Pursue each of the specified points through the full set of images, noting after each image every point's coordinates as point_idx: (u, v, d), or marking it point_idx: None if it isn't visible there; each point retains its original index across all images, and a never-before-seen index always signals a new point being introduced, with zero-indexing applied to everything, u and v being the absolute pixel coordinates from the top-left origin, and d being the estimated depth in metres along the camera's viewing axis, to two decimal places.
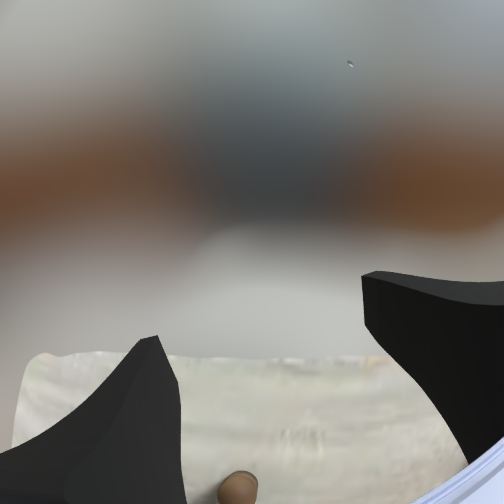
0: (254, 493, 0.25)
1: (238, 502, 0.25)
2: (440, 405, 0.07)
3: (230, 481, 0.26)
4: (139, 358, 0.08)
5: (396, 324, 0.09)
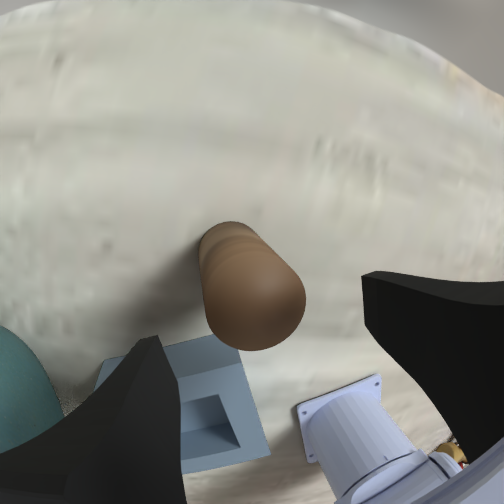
0: (302, 297, 0.12)
1: (259, 324, 0.12)
2: (439, 405, 0.07)
3: (243, 263, 0.12)
4: (139, 358, 0.08)
5: (395, 324, 0.09)
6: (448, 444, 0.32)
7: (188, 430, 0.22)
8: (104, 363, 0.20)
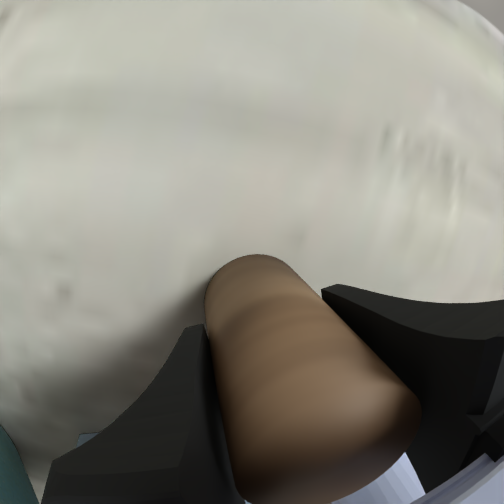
0: (413, 428, 0.05)
1: (334, 479, 0.05)
2: None
3: (323, 404, 0.04)
4: (193, 345, 0.08)
5: None
6: None
7: None
8: (80, 440, 0.12)
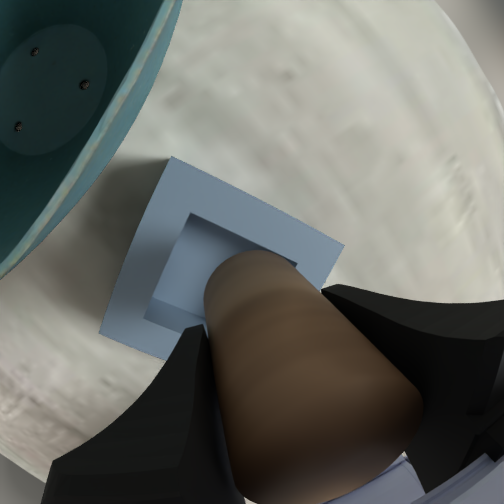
0: (414, 426, 0.05)
1: (333, 476, 0.05)
2: None
3: (330, 394, 0.04)
4: (193, 345, 0.08)
5: None
6: None
7: (180, 307, 0.18)
8: None
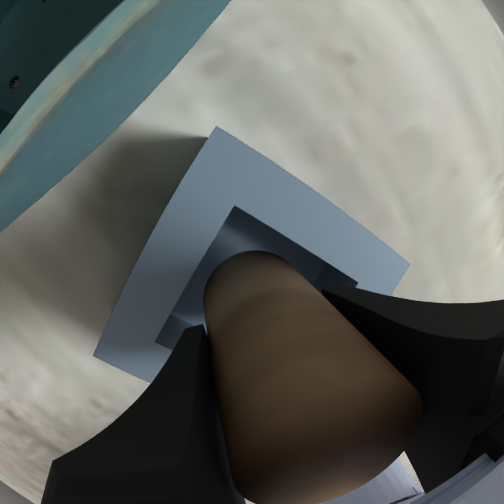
0: (413, 426, 0.05)
1: (332, 477, 0.05)
2: None
3: (329, 394, 0.04)
4: (193, 345, 0.08)
5: None
6: None
7: None
8: None
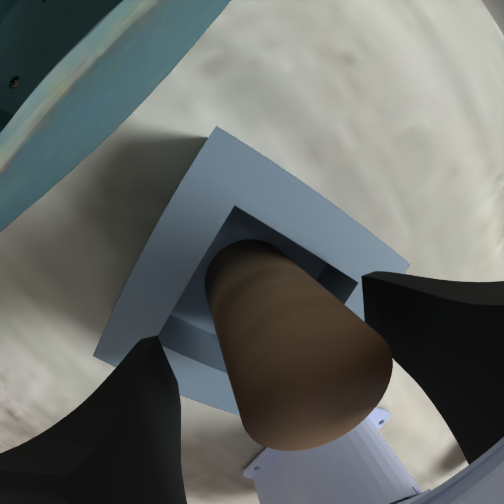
0: (386, 374, 0.07)
1: (322, 418, 0.07)
2: (440, 405, 0.07)
3: (311, 337, 0.06)
4: (139, 358, 0.08)
5: (395, 324, 0.09)
6: None
7: (199, 325, 0.14)
8: None
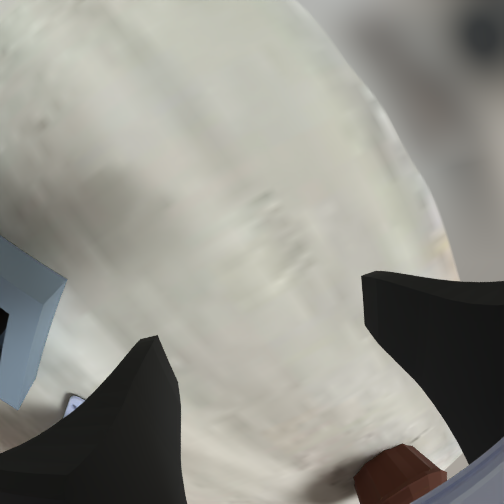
0: None
1: None
2: (440, 405, 0.07)
3: None
4: (139, 358, 0.08)
5: (395, 324, 0.09)
6: None
7: None
8: None
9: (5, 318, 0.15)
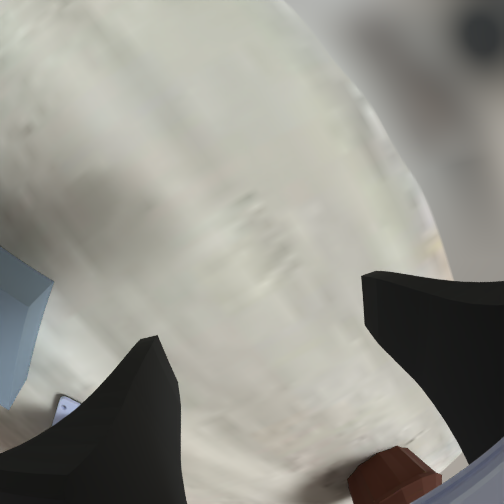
0: None
1: None
2: (440, 405, 0.07)
3: None
4: (139, 358, 0.08)
5: (396, 324, 0.09)
6: None
7: None
8: None
9: None
